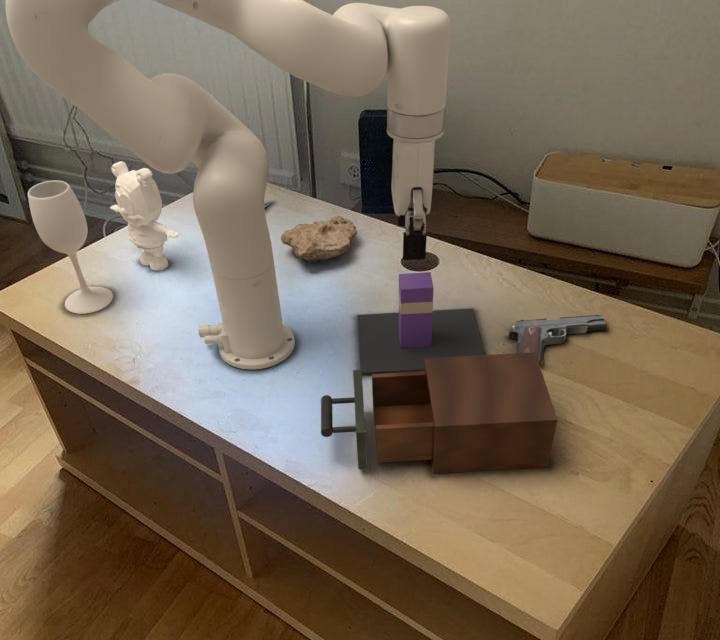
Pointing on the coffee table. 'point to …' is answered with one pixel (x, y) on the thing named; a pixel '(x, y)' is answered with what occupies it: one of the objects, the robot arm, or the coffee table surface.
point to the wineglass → (65, 237)
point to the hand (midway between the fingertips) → (411, 241)
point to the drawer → (389, 417)
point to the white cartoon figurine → (142, 213)
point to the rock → (320, 239)
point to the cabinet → (489, 413)
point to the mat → (385, 354)
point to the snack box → (415, 309)
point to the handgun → (551, 332)
